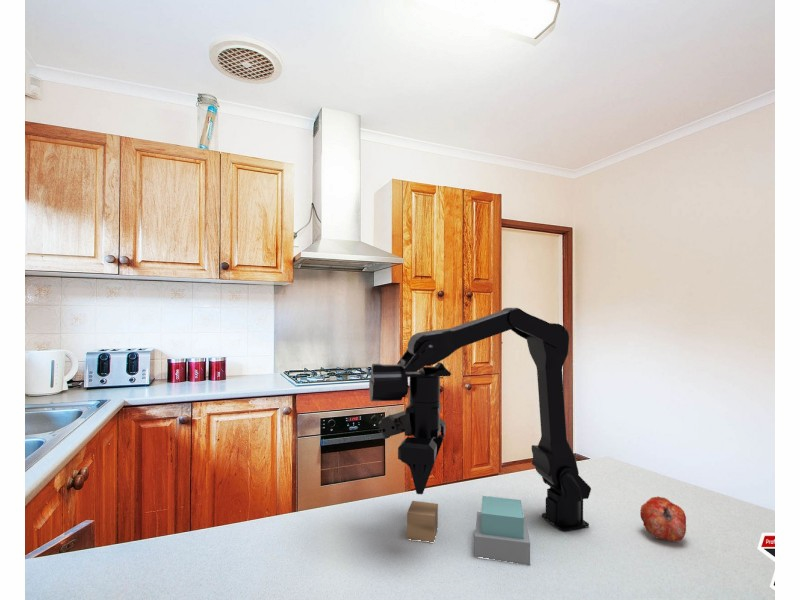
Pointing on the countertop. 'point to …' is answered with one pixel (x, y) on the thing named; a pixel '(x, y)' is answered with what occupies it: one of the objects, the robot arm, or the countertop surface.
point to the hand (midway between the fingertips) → (423, 483)
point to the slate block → (502, 545)
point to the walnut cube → (422, 521)
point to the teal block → (502, 517)
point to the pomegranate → (663, 519)
